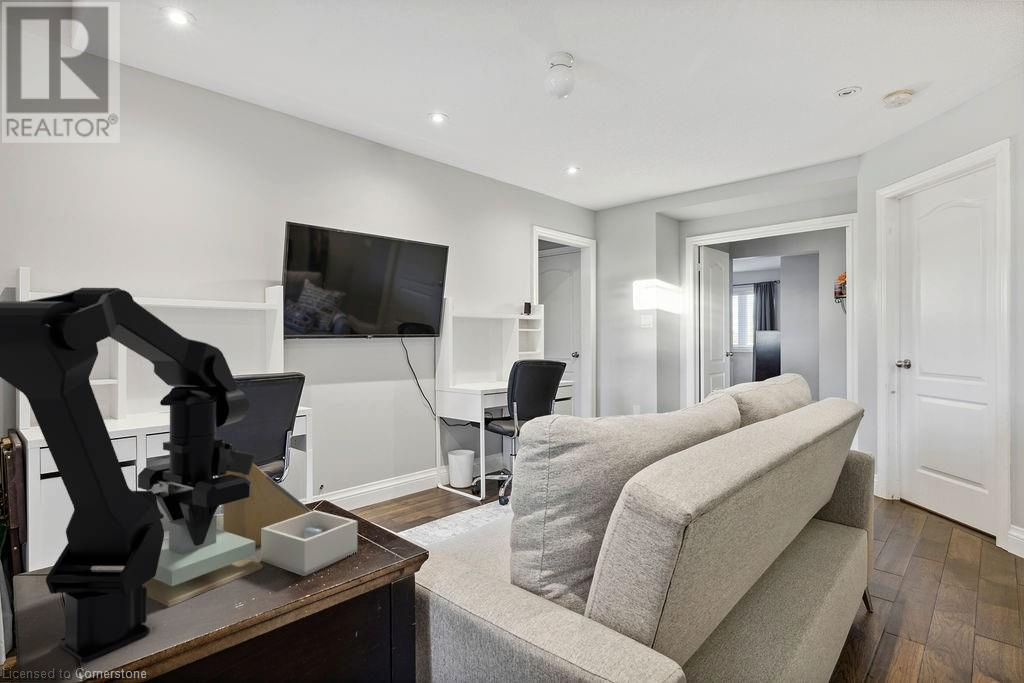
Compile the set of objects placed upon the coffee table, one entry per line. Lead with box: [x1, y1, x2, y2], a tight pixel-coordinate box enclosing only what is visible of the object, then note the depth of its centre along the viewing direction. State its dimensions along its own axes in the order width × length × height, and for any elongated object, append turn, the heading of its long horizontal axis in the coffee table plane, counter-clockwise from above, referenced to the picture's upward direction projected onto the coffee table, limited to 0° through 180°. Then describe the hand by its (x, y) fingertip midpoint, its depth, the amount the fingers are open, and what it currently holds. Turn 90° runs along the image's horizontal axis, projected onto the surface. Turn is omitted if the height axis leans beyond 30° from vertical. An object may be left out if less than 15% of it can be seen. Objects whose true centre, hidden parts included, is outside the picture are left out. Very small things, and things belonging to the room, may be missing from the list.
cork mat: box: [142, 558, 263, 608], centre depth 75 cm, size 13×13×1 cm
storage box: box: [260, 510, 358, 577], centre depth 82 cm, size 10×10×5 cm
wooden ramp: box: [222, 463, 312, 547], centre depth 93 cm, size 9×15×15 cm, turn 141°
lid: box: [153, 514, 256, 586], centre depth 75 cm, size 12×12×6 cm
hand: (192, 542), depth 75 cm, fingers closed on lid, 3 cm apart
